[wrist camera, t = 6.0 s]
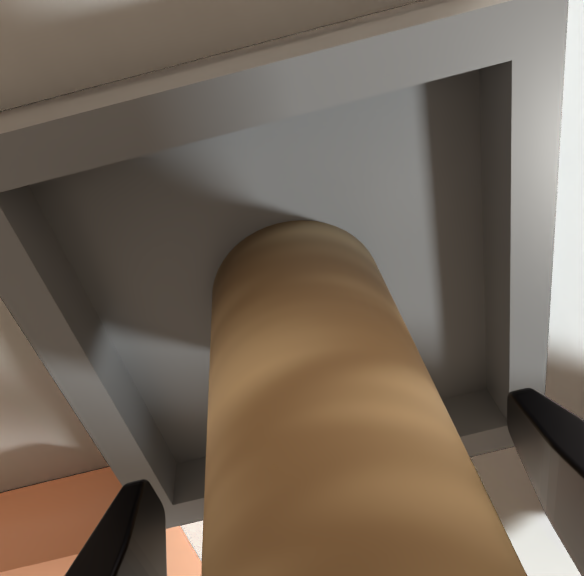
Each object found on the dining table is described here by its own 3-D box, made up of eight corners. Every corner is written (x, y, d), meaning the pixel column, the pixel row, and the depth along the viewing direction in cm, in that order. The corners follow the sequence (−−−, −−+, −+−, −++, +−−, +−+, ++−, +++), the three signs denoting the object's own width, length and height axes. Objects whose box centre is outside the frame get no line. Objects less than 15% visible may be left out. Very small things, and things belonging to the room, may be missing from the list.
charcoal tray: (504, -21, 11) (569, -15, 9) (504, 382, 18) (541, 440, 16) (-33, 120, 12) (-90, 157, 9) (160, 464, 18) (151, 532, 16)
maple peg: (367, 200, 13) (655, 702, 4) (389, 341, 15) (599, 840, 7) (189, 245, 13) (116, 819, 4) (238, 377, 15) (254, 913, 7)
